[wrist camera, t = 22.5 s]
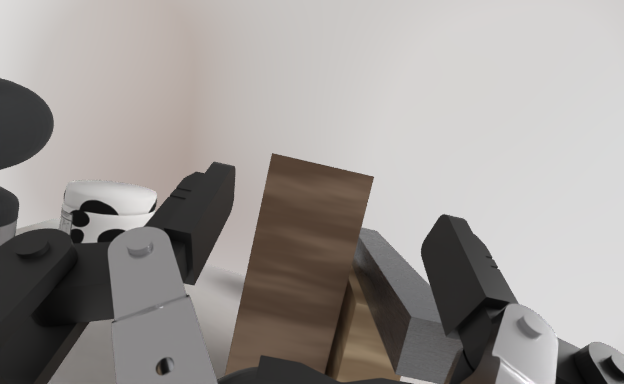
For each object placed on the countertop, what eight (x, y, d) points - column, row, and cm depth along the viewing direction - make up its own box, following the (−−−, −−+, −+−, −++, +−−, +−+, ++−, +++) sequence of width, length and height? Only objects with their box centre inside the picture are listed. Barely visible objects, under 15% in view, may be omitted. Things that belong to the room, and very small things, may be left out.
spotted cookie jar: (161, 262, 69) (174, 191, 67) (122, 297, 52) (138, 204, 50) (86, 250, 67) (97, 176, 65) (19, 282, 50) (32, 183, 48)
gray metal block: (455, 387, 18) (472, 330, 18) (395, 374, 18) (411, 316, 18) (370, 255, 44) (376, 231, 43) (345, 249, 44) (351, 225, 43)
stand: (366, 497, 29) (452, 194, 26) (203, 464, 28) (269, 152, 25) (347, 383, 44) (400, 183, 40) (240, 360, 43) (285, 156, 40)
